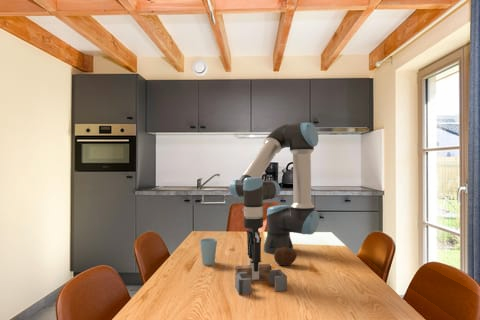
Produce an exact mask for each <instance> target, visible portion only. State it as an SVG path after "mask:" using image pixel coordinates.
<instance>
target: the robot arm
mask: <svg viewBox="0 0 480 320" xmlns="http://www.w3.org/2000/svg"><path fill="white" fill-rule="evenodd" d="M318 143H319V133H318V130H317V127H316V126H315V125H314V124H313V123H312V122H298V123H288V124H282V125H279V126H278V127H276V128H275V129H274V130H272V131H271V132H270V133H269V134H268V135H267V136H266V138H265V139H264V141H263V145H262V147H261V148H260V149H259V151H258V152H257V154H256V155H255V157H254V158H253V159H252V161H251V162H250V164H249V165H248V166H247V168H246V170H244V172H243V173H242V175H241V176H240V178H239V179H234V180H232V181H231V182H230V184H229V187H228V189H229V192H230V195H231V196H233V197H236V198H243V208H242V209H241V210H242V211H243V216H244V217H243V227H244V228H246V229H248V230H246V240H247V241H246V242H247V243H246V244H247V256H248V265H252V280H253V281H257V280H256V279H259V264H260V263H261V261H262V259H261V258H262V257H261V255H262V244H261V243H262V237H261V235H260V231H259V230H260V229H261V228H263V227H264V218H263V217H264V201H265V200H273V199H275V198H277V197H279V195H280V193H281V187H280V186H281V185H279V183H278V182H277V181H275V180H263V178H262V176H263V175H264V173H265V172H266V170H267V168H268V167H269V166H270V164H271V162H272V161H273V159H274V158H275V156H276V155H277V154H279V153H280V152H281V151H282V150H283V149H284V148H289V152H291V154H292V182H293V183H292V185H293V188H292V190H293V192H292V193H293V194H292V197H293V200H292V201H293V202H292V204H290V205H289V204H282V205H280V204H279V205H273V206H268V207H267V209H266V212H267V213H266V238H265V241H264V244H263V251H264V252H265V253H268V254H272V255H274V253H275V251H276V249H277V248H283V247H287V248H289V249H292V250H293V251H294V244H293V241H292V239H291V238H292V237H291V234H290V233H294V234H300V235H309V236H310V235H313V234H315V232H317V229H318V228H319V224H320V214H319V212H318V211H317V210H315V205H314V204H313V203H312V168H311V167H312V161H311V158H312V156H311V155H312V153H313V152H314V151H315V148H314V147H317V145H318Z"/></svg>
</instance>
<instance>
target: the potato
mask: <svg viewBox="0 0 480 320" xmlns="http://www.w3.org/2000/svg"><path fill="white" fill-rule="evenodd" d="M273 258H274V261H275V263H276V264H277V265H279V266H291V265H292V264H293V263H294V262H295V261H296V259H297V258H298V257H297V253H296V252H295V251H294V249H293V250H292V249H289V248H287V247H283V248H277V249H276V251H275V253H274V254H273Z"/></svg>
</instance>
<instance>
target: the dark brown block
mask: <svg viewBox="0 0 480 320" xmlns="http://www.w3.org/2000/svg"><path fill="white" fill-rule="evenodd" d="M269 270H273V269H272V265H271V264H270V263H262V264H261V263H259V279H256V280H255V281H264V280H265V279H266V280H269ZM239 272H247V278H251V282H252V265H249V264H247V265H245V264H244V265H243V264H242V265H235V273H239ZM266 280H265V281H266Z"/></svg>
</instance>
